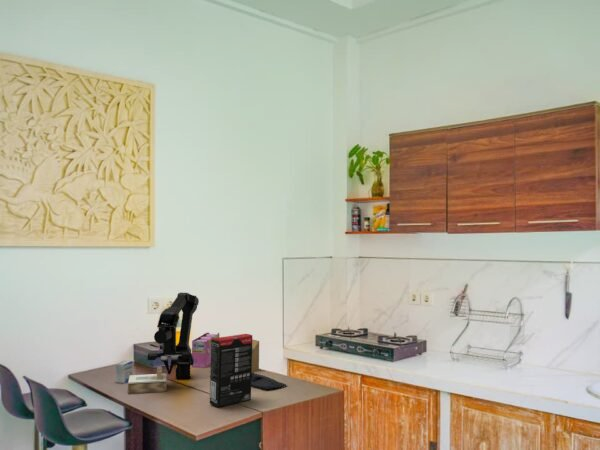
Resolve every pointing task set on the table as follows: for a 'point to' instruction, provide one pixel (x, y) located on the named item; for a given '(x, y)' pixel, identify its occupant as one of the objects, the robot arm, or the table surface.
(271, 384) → the dark slate chunk
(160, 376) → the lid
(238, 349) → the graphics card box
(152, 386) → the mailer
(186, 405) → the table surface
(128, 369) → the medicine box
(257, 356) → the sandwich container
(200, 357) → the gum box
